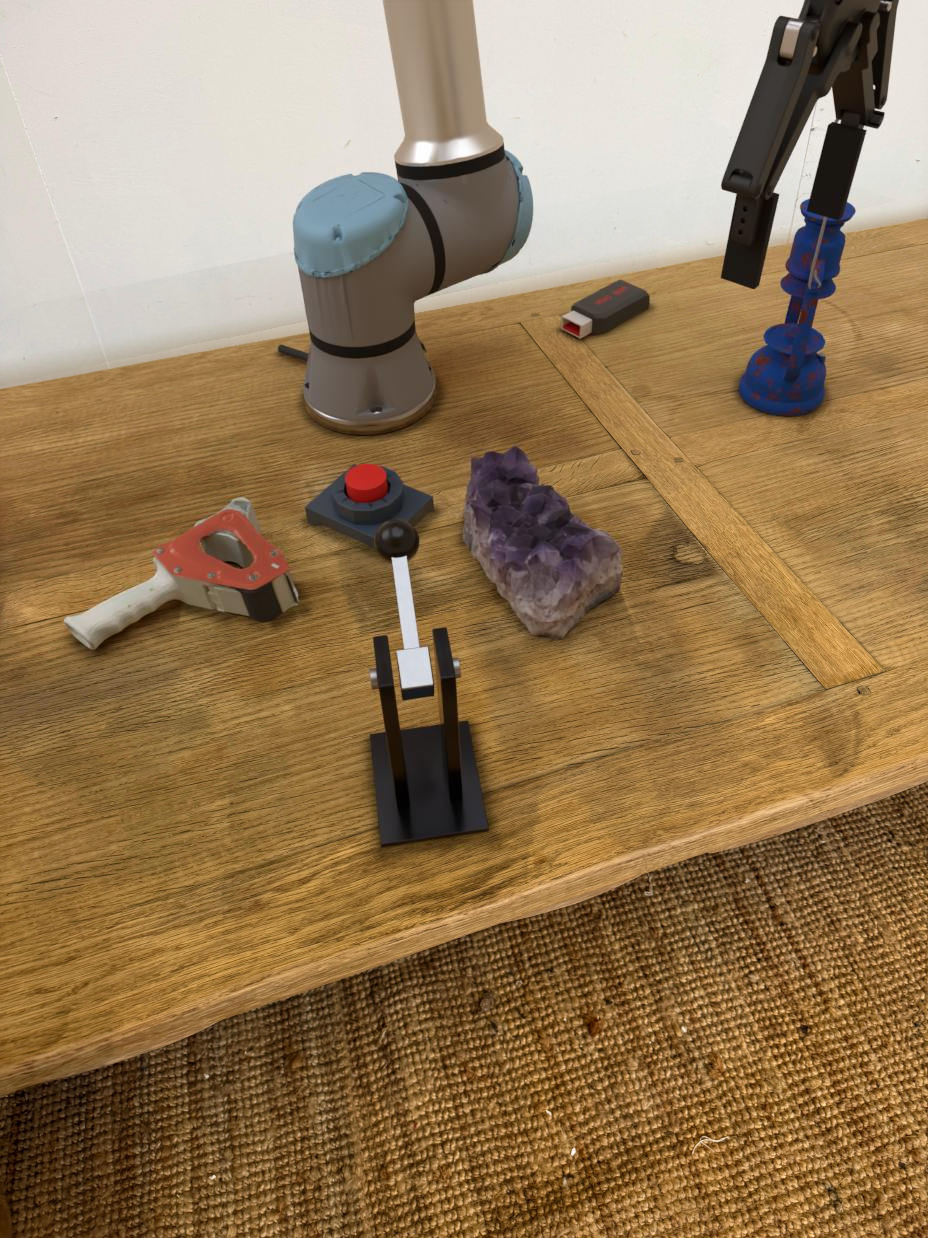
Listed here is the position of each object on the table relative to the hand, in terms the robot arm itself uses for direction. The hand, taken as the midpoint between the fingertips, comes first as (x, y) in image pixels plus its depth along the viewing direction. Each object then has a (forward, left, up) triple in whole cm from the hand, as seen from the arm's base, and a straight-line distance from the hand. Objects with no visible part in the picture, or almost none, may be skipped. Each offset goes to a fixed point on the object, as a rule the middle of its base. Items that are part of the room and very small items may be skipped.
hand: (783, 246), depth 71 cm
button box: (-30, -17, -29) cm, 45 cm away
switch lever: (-11, -36, -14) cm, 40 cm away
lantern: (-3, +25, -29) cm, 38 cm away
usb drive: (-28, +30, -29) cm, 50 cm away
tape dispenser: (-37, -34, -29) cm, 58 cm away
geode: (-13, -15, -29) cm, 35 cm away
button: (-30, -17, -25) cm, 43 cm away
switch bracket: (-7, -40, -29) cm, 50 cm away
